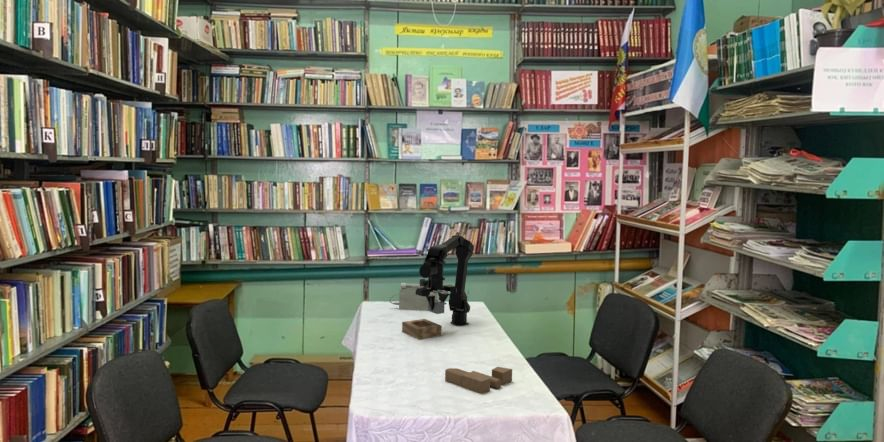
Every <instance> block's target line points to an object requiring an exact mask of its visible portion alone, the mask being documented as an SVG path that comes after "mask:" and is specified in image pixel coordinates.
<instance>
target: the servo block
mask: <svg viewBox="0 0 884 442" xmlns="http://www.w3.org/2000/svg"><path fill="white" fill-rule="evenodd" d="M426 301H428V300H426ZM445 305H447V302H446V301H445V302H442V301H440V300H439V299H437V300H436V299H435V301H434V308H433V310H431V308H430V305H429V302H428V311H427V312H430V313H433V314H436V315H441V314H445Z"/></svg>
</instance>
